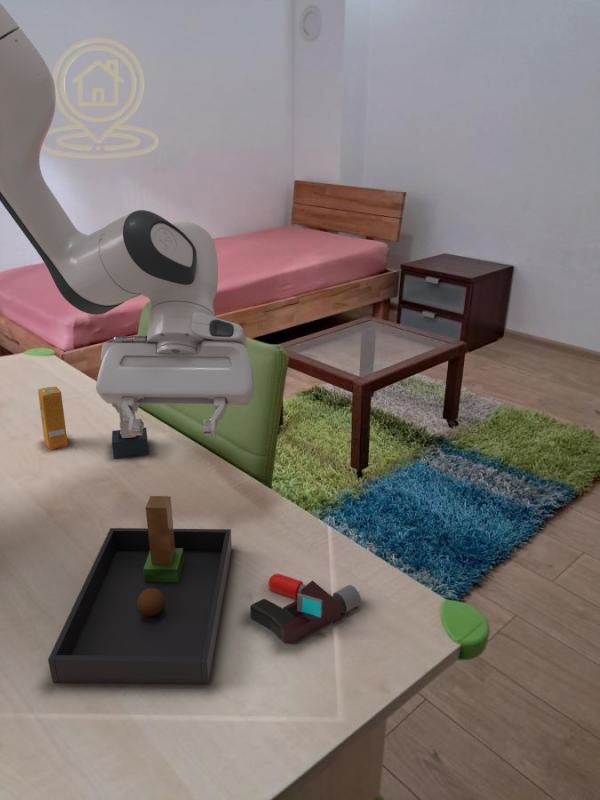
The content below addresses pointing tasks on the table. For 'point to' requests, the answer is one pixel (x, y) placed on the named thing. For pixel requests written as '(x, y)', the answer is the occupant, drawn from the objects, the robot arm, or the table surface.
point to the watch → (128, 437)
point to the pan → (136, 633)
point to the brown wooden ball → (151, 602)
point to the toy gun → (302, 608)
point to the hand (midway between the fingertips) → (172, 434)
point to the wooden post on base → (162, 543)
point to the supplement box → (52, 417)
